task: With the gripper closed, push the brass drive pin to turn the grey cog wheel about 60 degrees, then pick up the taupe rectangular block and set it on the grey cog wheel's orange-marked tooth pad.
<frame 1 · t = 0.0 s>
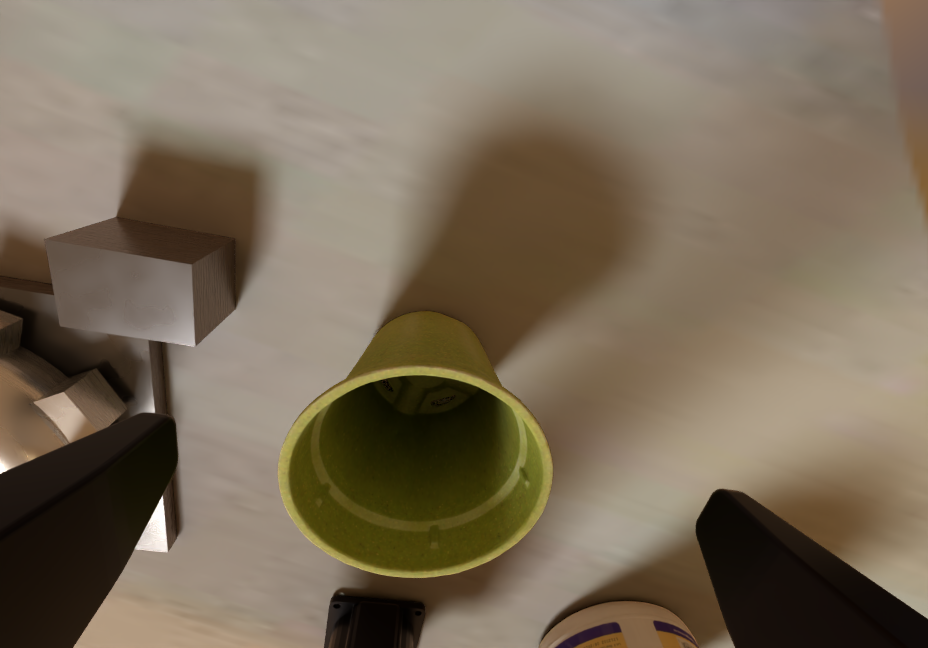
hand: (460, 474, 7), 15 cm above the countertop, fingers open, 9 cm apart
base plate: (6, 414, 23), on the countertop
supplement tub: (608, 641, 35), on the countertop
plant pot: (426, 360, 23), on the countertop
taupe rectangular block: (179, 264, 21), on the countertop
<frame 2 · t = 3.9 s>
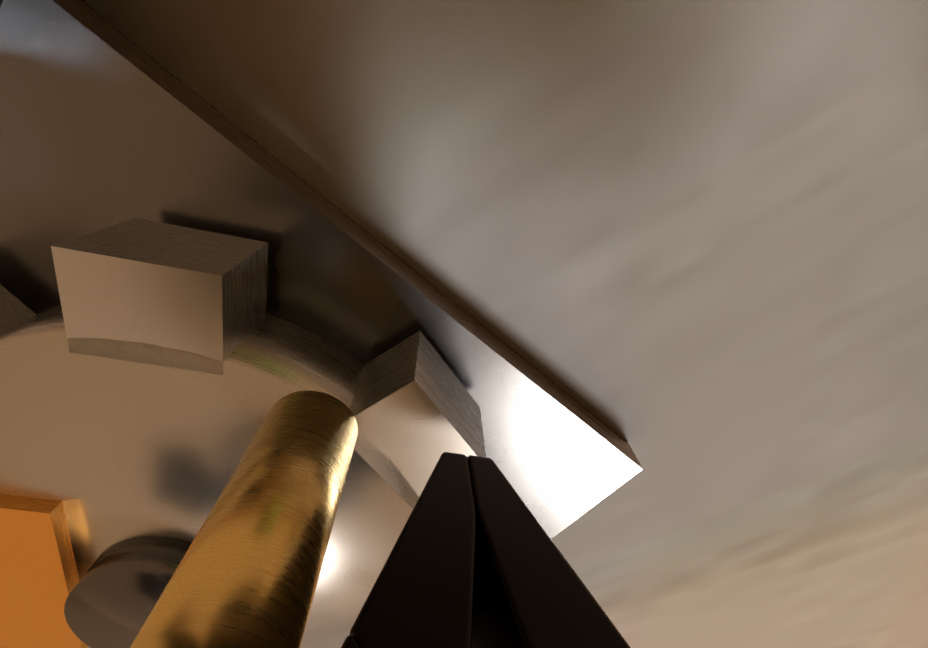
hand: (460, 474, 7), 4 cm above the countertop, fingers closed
base plate: (234, 472, 13), on the countertop
grey cog wheel: (140, 633, 9), point 4 cm above the countertop, hinge at 0.0°, touching gripper
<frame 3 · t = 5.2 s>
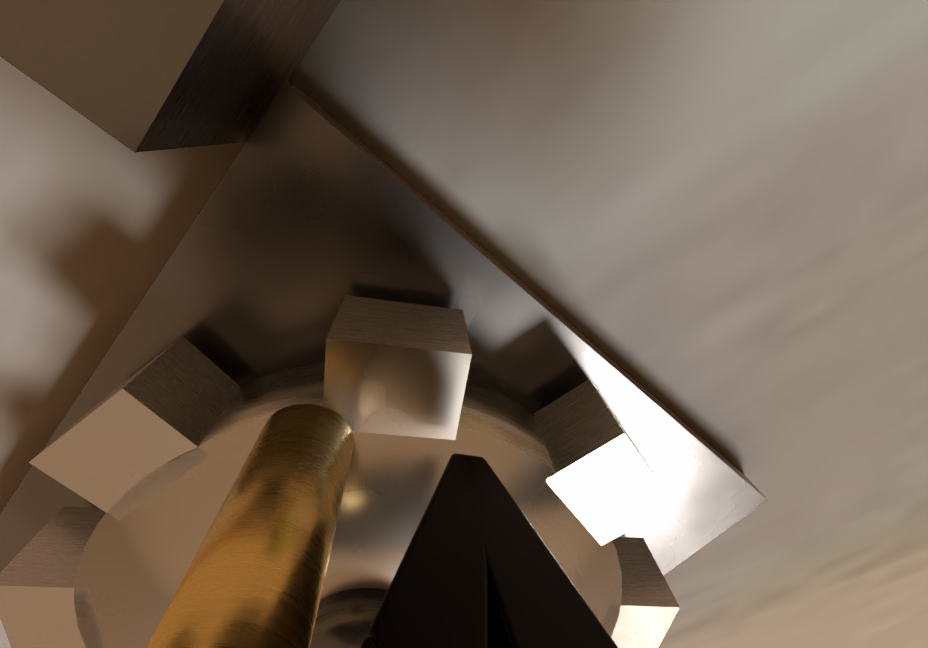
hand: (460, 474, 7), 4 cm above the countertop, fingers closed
base plate: (379, 514, 13), on the countertop
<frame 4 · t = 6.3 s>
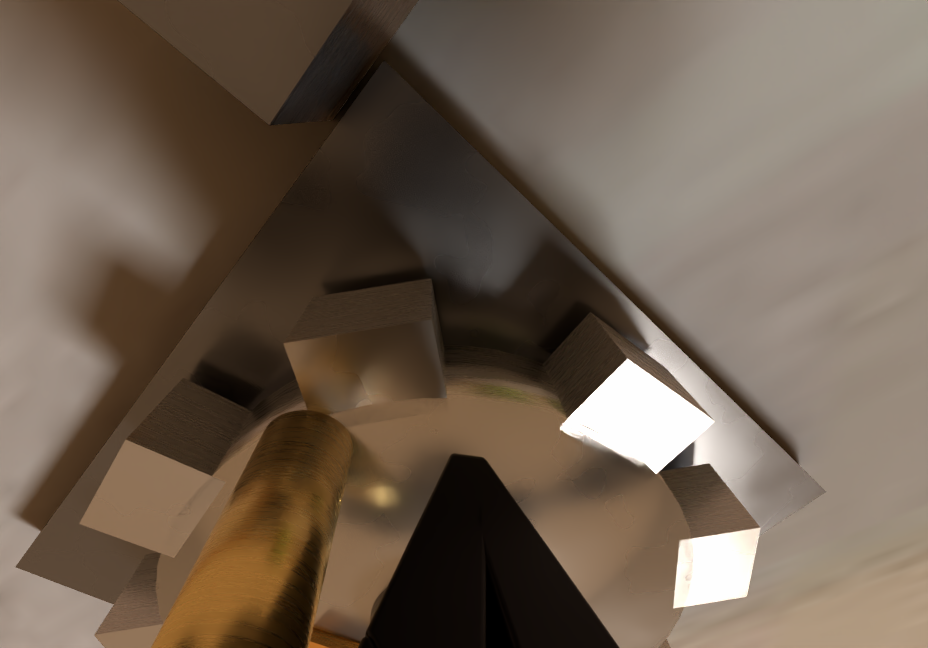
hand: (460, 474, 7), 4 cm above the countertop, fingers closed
base plate: (435, 500, 13), on the countertop
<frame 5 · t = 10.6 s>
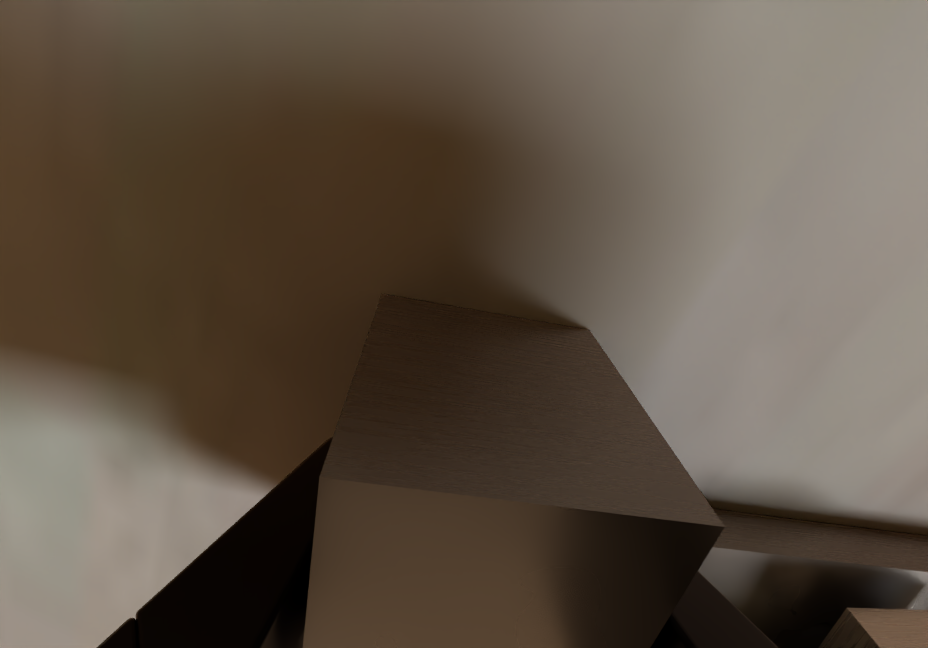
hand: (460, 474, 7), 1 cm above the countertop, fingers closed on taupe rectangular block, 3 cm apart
taupe rectangular block: (458, 433, 8), on the countertop, touching gripper
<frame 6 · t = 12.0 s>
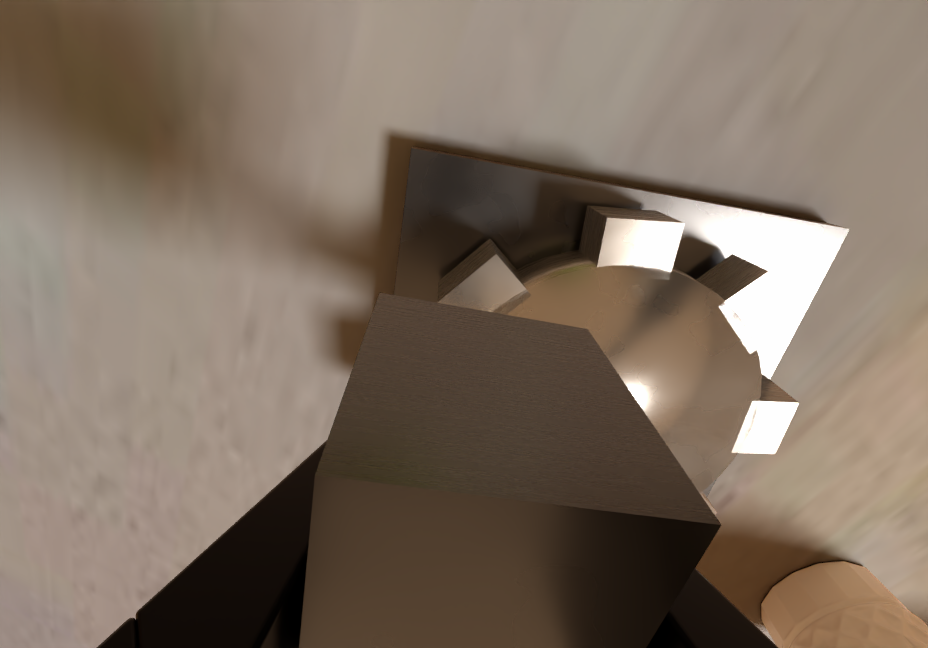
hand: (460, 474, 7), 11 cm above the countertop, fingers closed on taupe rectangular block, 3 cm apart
white cup: (812, 594, 27), on the countertop
base plate: (572, 374, 20), on the countertop
grey cog wheel: (605, 440, 16), point 4 cm above the countertop, hinge at 65.6°
taupe rectangular block: (456, 432, 8), point 10 cm above the countertop, touching gripper
when the fingers open (6 cm above the countertop, at t = 13.7 s): taupe rectangular block stays where it is, resting on grey cog wheel.
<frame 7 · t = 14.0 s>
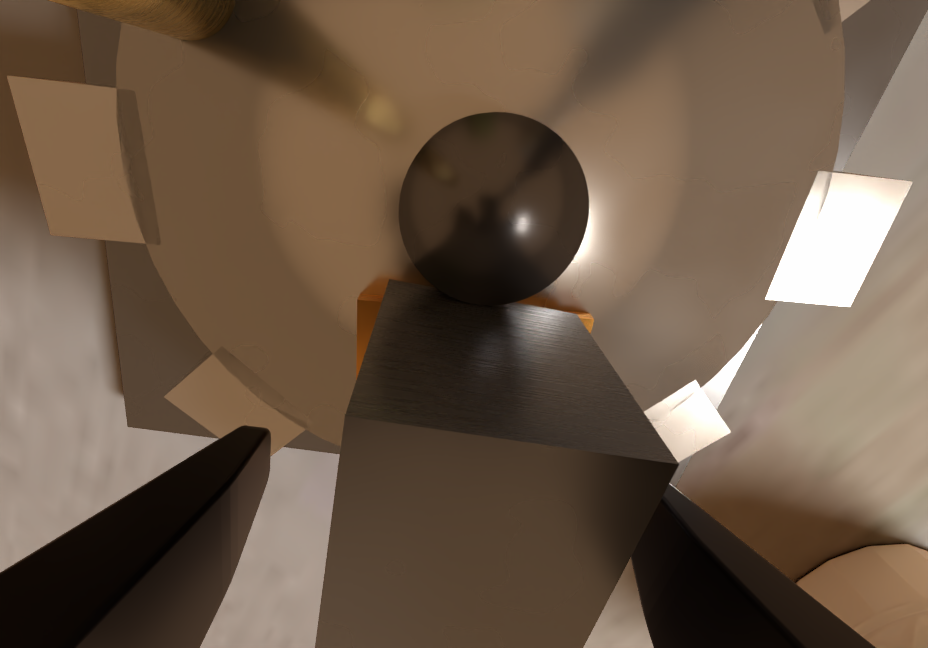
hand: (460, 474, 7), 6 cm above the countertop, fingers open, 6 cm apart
white cup: (852, 593, 19), on the countertop
base plate: (475, 182, 11), on the countertop
grey cog wheel: (495, 219, 7), point 4 cm above the countertop, hinge at 65.6°, touching taupe rectangular block
taupe rectangular block: (457, 409, 9), point 4 cm above the countertop, touching grey cog wheel
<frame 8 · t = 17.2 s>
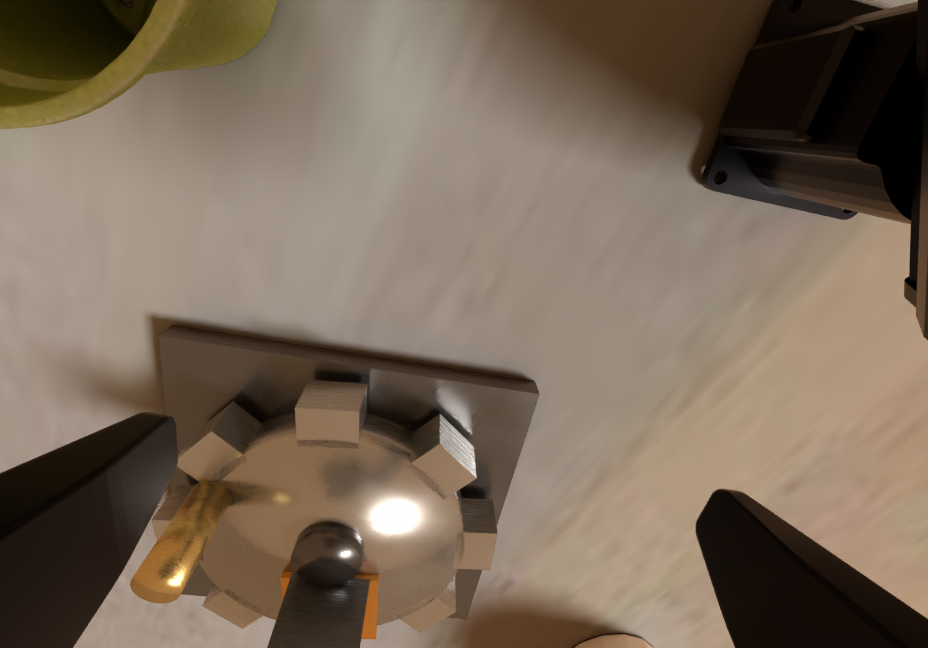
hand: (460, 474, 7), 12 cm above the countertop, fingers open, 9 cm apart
base plate: (345, 489, 23), on the countertop
grey cog wheel: (325, 566, 19), point 4 cm above the countertop, hinge at 65.6°, touching taupe rectangular block
taupe rectangular block: (327, 610, 21), point 4 cm above the countertop, touching grey cog wheel
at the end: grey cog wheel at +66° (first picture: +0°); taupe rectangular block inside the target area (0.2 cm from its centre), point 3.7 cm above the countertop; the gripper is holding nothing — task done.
